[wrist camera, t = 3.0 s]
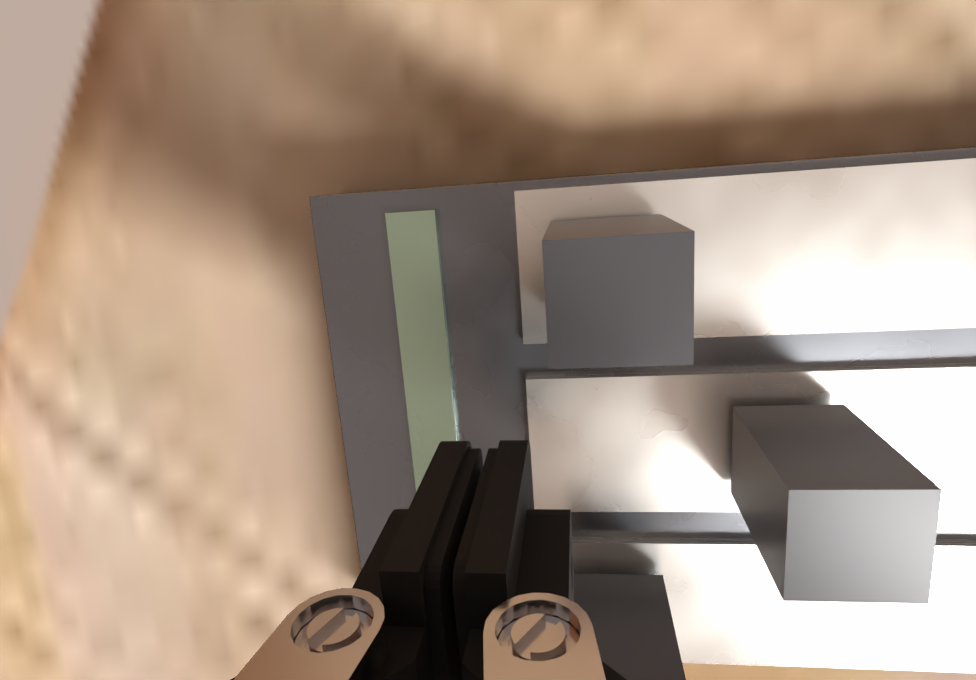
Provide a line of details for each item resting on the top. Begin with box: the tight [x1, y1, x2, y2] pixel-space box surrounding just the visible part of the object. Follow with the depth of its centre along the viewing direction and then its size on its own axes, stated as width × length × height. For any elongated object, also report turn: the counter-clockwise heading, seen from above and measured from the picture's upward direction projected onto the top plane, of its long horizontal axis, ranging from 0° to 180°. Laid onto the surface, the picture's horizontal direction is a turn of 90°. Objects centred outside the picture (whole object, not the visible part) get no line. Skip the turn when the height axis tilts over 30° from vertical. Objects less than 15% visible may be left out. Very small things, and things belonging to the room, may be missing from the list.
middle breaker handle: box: [731, 404, 942, 604], centre depth 13 cm, size 2×2×4 cm
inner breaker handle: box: [574, 573, 686, 680], centre depth 15 cm, size 2×2×4 cm
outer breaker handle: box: [542, 214, 695, 369], centre depth 12 cm, size 2×2×4 cm
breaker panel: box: [309, 147, 976, 673], centre depth 16 cm, size 13×22×2 cm, turn 94°
